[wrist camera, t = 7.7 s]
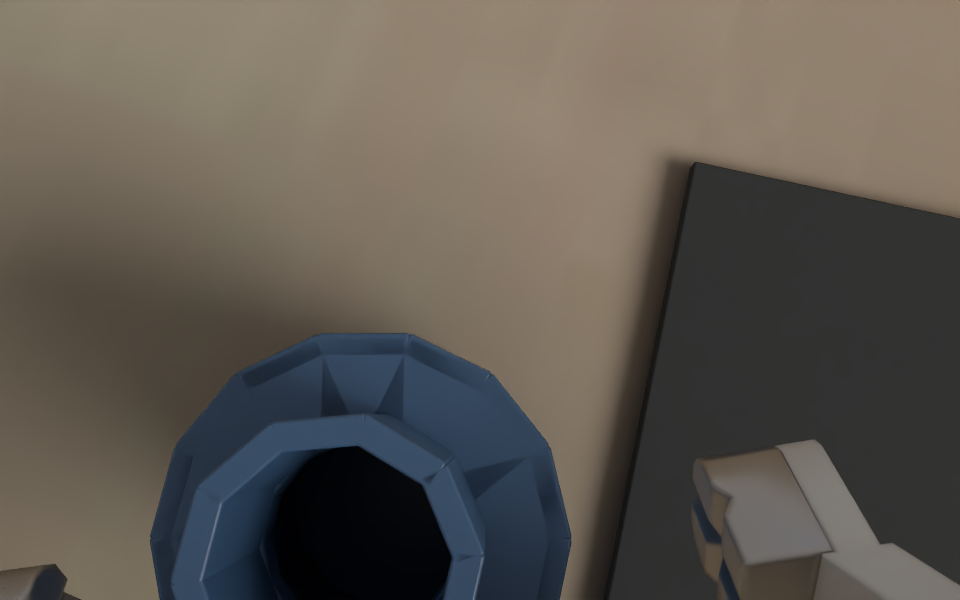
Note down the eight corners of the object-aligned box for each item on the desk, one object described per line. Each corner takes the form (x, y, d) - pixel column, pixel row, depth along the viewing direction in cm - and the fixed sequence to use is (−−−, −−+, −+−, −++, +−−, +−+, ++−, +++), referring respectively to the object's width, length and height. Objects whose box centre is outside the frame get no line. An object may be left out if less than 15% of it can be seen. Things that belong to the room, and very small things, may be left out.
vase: (257, 591, 16) (0, 783, 8) (321, 339, 17) (150, 258, 8) (505, 651, 16) (523, 917, 7) (560, 393, 16) (635, 368, 8)
